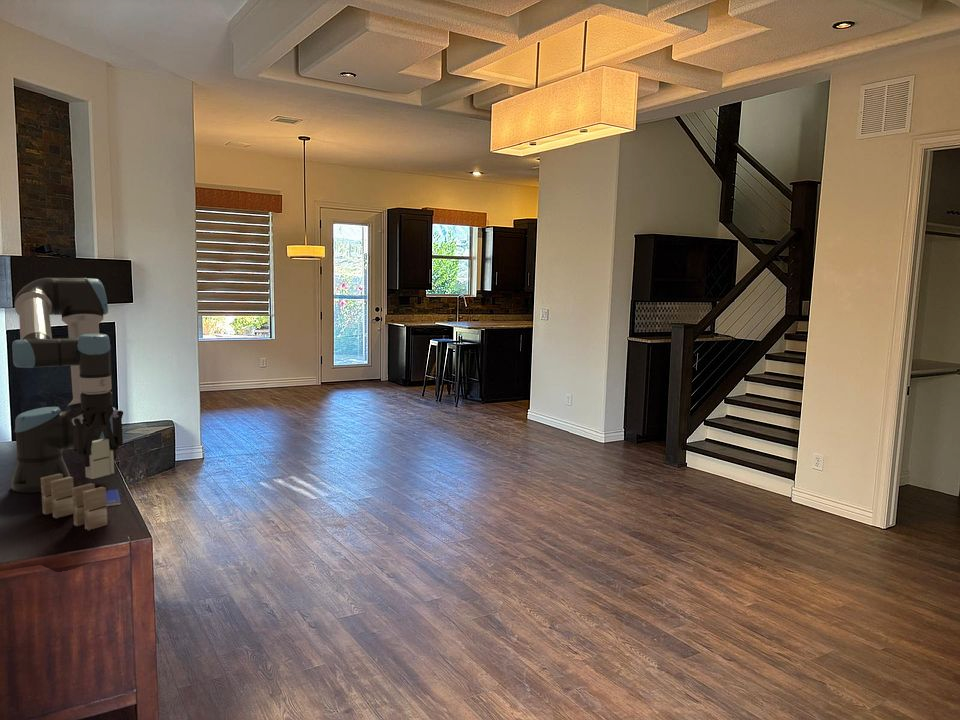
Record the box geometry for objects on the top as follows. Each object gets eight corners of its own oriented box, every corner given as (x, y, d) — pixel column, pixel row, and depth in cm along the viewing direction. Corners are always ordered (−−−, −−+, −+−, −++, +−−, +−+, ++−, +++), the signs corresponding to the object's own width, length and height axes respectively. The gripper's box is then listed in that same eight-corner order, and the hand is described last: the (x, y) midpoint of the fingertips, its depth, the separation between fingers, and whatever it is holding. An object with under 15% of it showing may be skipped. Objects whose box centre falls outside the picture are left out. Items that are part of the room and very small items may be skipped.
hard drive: (120, 501, 199) (117, 488, 209) (87, 505, 195) (86, 492, 205) (120, 506, 199) (118, 494, 210) (87, 510, 195) (86, 497, 205)
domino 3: (73, 525, 183) (72, 487, 181) (92, 519, 187) (91, 483, 186) (77, 526, 182) (75, 489, 181) (96, 520, 186) (94, 484, 185)
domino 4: (89, 477, 191) (87, 441, 189) (107, 473, 195) (105, 438, 194) (92, 478, 190) (91, 442, 188) (110, 474, 194) (109, 439, 193)
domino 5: (84, 529, 180) (83, 491, 179) (103, 523, 185) (102, 486, 183) (88, 530, 179) (86, 492, 178) (107, 524, 184) (105, 487, 182)
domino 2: (52, 517, 188) (50, 481, 187) (71, 511, 192) (69, 476, 191) (56, 518, 187) (54, 482, 186) (75, 513, 191) (73, 477, 190)
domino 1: (42, 513, 190) (40, 477, 189) (61, 508, 195) (59, 473, 193) (46, 514, 190) (43, 478, 188) (64, 509, 194) (62, 474, 192)
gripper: (70, 398, 179) (74, 486, 183) (135, 388, 195) (139, 469, 198) (54, 394, 183) (58, 480, 187) (119, 385, 199) (123, 464, 202)
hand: (100, 474), depth 192 cm, fingers closed on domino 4, 5 cm apart
